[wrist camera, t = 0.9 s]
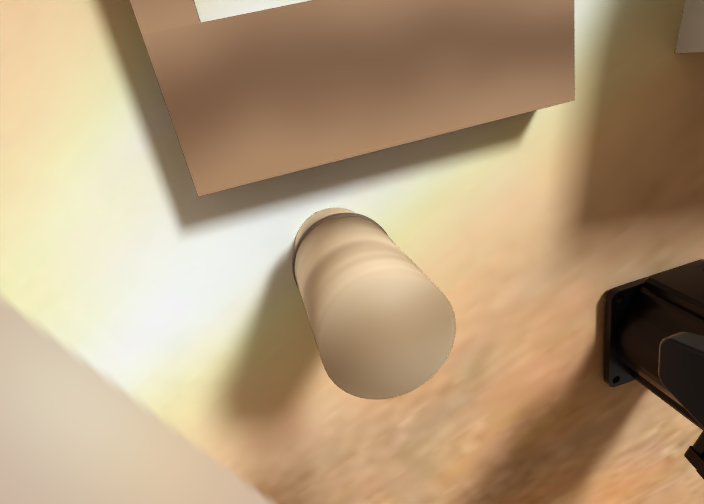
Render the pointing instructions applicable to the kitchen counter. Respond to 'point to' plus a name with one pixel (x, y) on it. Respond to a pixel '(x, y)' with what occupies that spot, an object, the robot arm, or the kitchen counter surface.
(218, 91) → the board
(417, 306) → the peg
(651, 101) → the kitchen counter surface
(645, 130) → the kitchen counter surface
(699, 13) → the icon cube
